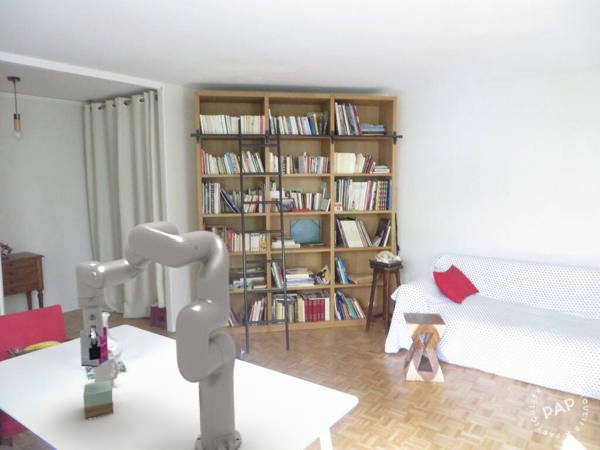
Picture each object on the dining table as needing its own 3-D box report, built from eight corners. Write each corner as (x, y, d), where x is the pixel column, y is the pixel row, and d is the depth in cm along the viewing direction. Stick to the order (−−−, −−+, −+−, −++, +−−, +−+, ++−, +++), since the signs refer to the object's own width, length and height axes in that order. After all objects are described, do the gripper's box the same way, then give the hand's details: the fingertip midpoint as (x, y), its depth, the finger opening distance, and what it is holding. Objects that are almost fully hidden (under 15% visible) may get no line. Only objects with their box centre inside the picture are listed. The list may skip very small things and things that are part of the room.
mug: (90, 387, 157) (88, 355, 155) (104, 379, 163) (102, 348, 162) (112, 391, 153) (110, 358, 152) (125, 383, 159) (124, 351, 158)
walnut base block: (113, 413, 139) (112, 401, 138) (85, 420, 135) (84, 408, 135) (111, 402, 146) (110, 391, 145) (84, 408, 142) (84, 397, 142)
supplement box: (97, 367, 135) (95, 332, 134) (80, 366, 136) (78, 331, 135) (109, 360, 141) (107, 325, 140) (93, 358, 142) (90, 324, 141)
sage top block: (112, 402, 138) (111, 390, 138) (84, 407, 135) (83, 395, 134) (112, 391, 145) (111, 380, 145) (85, 396, 142) (84, 384, 142)
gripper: (105, 305, 131) (109, 361, 132) (102, 292, 146) (105, 343, 148) (78, 309, 127) (81, 367, 129) (77, 295, 143) (81, 347, 144)
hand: (94, 354), depth 138 cm, fingers closed on supplement box, 7 cm apart
